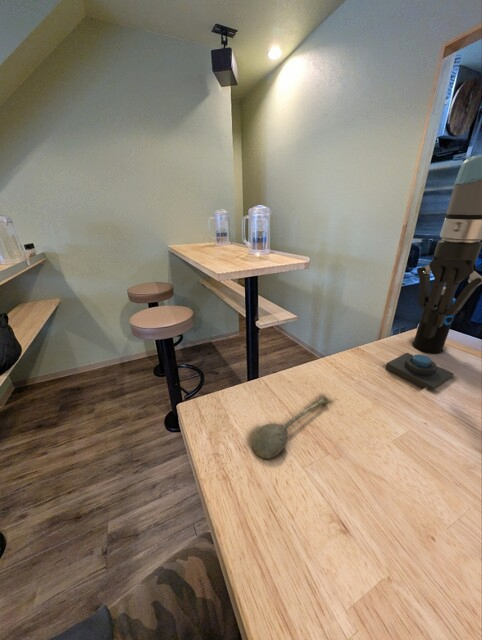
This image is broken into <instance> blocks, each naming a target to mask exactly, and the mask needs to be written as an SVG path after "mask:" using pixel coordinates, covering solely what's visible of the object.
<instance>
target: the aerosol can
mask: <svg viewBox="0 0 482 640" xmlns="http://www.w3.org/2000/svg"><path fill="white" fill-rule="evenodd" d="M445 288H446V287H445V286H444V287H443V290H442V293H441V296H440V299H439V302H438V305H437V309H435V311H438V309H439V306H440V303H441V300H442V297H443V294H444V291H445ZM456 299H457V298H455V297H453V300H452V303H451V306H452V304H453V303H454V302H455V300H456ZM451 306H450V307H451ZM425 313H426V310H425V309H424V308H423V309H422V312H421V316H420V319H419V324H418V326H417V329H416V333H415V336H414V340H413V341H412V342H411V345H412V347H413V348H415V349H416V350H417V351H420V352H423V353H425V354H430V355H438V354H442V353H443V352H444V346H445V344H446V341H447V338H448V335H449V332H450V329H451V327H452V324H453V321H454V318H455V316H456V314H454V315H451V316H449V315H446V318H445V320H444V323H443V325H442V326H441V327H439V328H438V327H437V330H436V333H435V335H434V336H433V337H431V338H429V339H428V338H425V337H423V333H424V329H425V326H426V323H423V319H424V316H425Z"/></svg>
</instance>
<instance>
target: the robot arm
mask: <svg viewBox="0 0 482 640" xmlns="http://www.w3.org/2000/svg"><path fill="white" fill-rule="evenodd" d="M453 185H454V186H453V189H452V192H451V197H450V200H449V203H448V207H447V209H446V210H447V211H446V214H445V217H444V221H443V224H442V227H441V230H440V233H439V237H440V238H441V239H440V240H438V241H437V243H436V247H435V249H434V252H433V253H434V254H433V258H432V259H431V261H430V262H429V264H427V265H424V266H420V267H417V269H416V273H417V275H418V307H420V308H423V309H425V310H426V313H425V316H424V319H423V323H426V326H425V329H424V333H423V337H425V338H428V339H429V338H431V337H433V336H434V335H435V333H436V330H437V327H438V328H439V327H441V326H442V325H443V323H444V320H445V318H446V315H449V316H451V315H454V314H455V315H456V314H458V313H459V312H460V310H461V309H462V308H463V307H464V305H465V304H466V302H467V301H468V299H470V297H471V296H472V294H474V292H475V290H476V289H477V288H478V286H481V285H482V275H480V274H479V273H478V272H477V266H476V265H477V264H476V263H477V260H478V259H479V256H480V252H481V250H482V154H479V155H478V154H477V155H474V156H470V157H467V158H466V159H465V160H464V161H463V162H462V164H461V165H460V168H459V170H458V173H457V176H456V179H455V181H454V182H453ZM431 273H432V276H433V281H432V288H431ZM468 277H469V278H468ZM467 278H468V280H467V282H468V283H467V284H466V285H465V286H464V287H463V289H462V291H461V292H460V293H459V295H458V296H457V298H455V295H456V292H457V289H458V287H459V285H460V283H461V282H462V281H464V280H465V279H467ZM443 287H446V288H445V291H444V294H443V297H442V300H441V303H440V306H439V309H438V311H435V309H437V305H438V302H439V299H440V296H441V293H442V290H443ZM430 289H431V290H430ZM453 298H455V299H456V300H455V302H454V303H453V304H452V306H451V303H452V300H453ZM450 306H451V307H450Z"/></svg>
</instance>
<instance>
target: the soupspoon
mask: <svg viewBox="0 0 482 640" xmlns="http://www.w3.org/2000/svg"><path fill="white" fill-rule="evenodd" d="M329 402H330V401H329V398H328V397H326V396H323V397H322V398H321V400H319V401H316V402H315V403H313V404H312V405H310V406H309V407H307V408H306V409H304V410H303V411H301V412H300V413H298V414H297V415H295V416H294V417H292V418H291V419H289V420H288V421H287V422H286V423H284V424H283V425H281V424H279V423H266V424H264V425H262V426H260V427H259V428H258V429H257V430H256V431H255V433H254V434H253V437H252V441H251V445H252V449H253V451H254V453H255V454H256V455H257V456H258V457H259V458H262V459H265V460H270V459H273V458H274V457H276V456H277V455H279V454H280V453H281V452H282V451H283V449H284V448H285V447H286V444H287V442H288V437H289V434H288V430H287V429H288V428H289V427H291V425H293V424H294V423H295V422H296V421H297V420H299V419H300V418H302V417H303V416H305V415H306V414H308V412H310V411H311V410H313V409H315V408H316V407H319V406H321V405H328V404H329Z"/></svg>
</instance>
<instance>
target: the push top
mask: <svg viewBox="0 0 482 640" xmlns="http://www.w3.org/2000/svg"><path fill="white" fill-rule="evenodd" d="M413 355H414V356H413V359H412V363H413V364H415V365H417V366H419V367H424V368H428V367H429V366H430V363H431V360H432V359H431V358H430V357H429V356H427V355H424V354H421V353H420V354H419V353H417V354H413Z"/></svg>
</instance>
